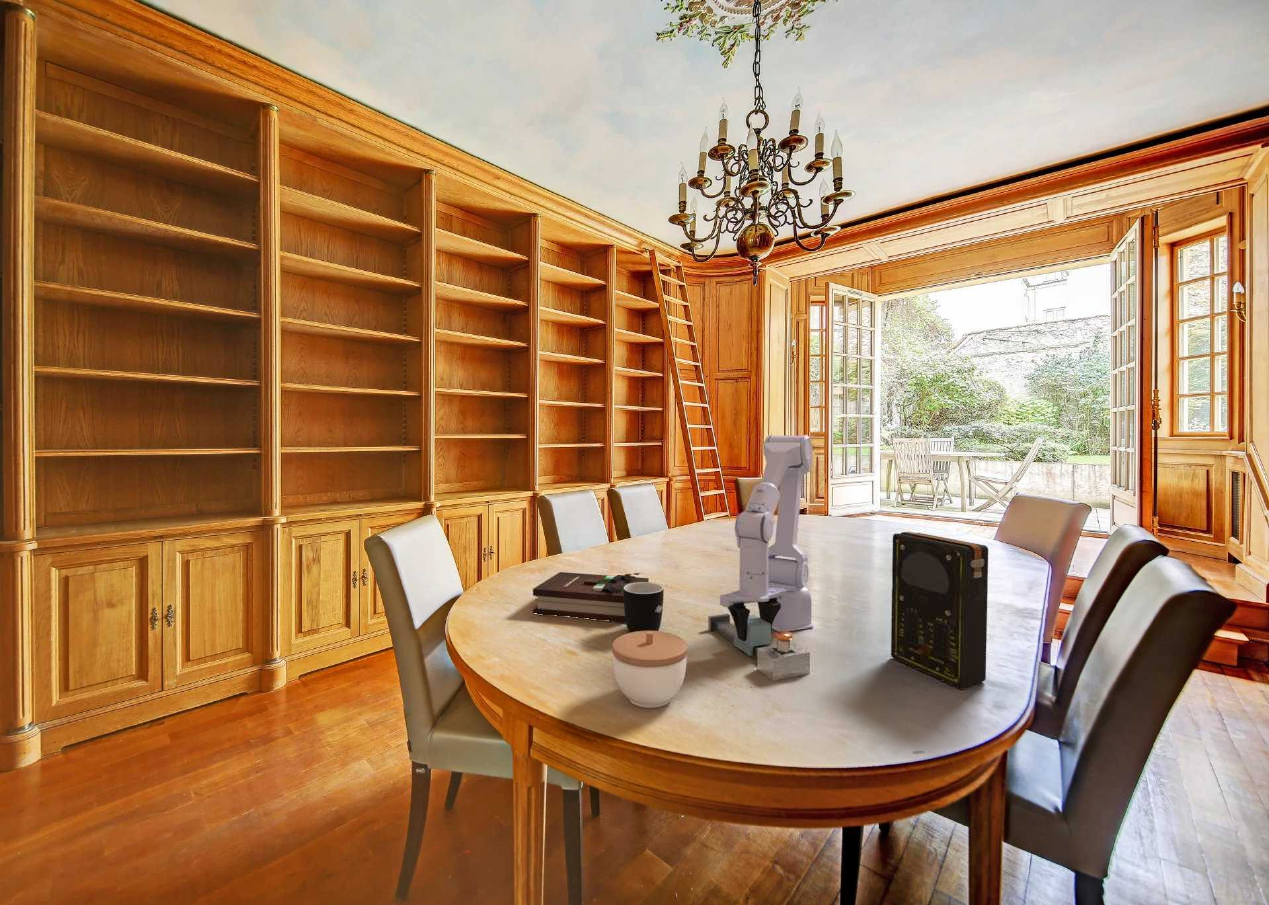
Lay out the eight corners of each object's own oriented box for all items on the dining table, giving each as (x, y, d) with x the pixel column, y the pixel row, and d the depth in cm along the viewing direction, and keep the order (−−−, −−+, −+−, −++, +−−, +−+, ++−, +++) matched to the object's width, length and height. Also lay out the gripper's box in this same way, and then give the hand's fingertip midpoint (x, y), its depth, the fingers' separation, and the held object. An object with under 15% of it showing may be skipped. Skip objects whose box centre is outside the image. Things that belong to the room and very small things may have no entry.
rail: (727, 626, 123) (727, 613, 123) (787, 665, 102) (787, 649, 102) (708, 629, 121) (708, 616, 121) (765, 669, 100) (765, 653, 100)
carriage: (753, 641, 113) (753, 614, 113) (770, 652, 107) (770, 623, 107) (733, 644, 111) (734, 617, 111) (750, 656, 105) (750, 627, 105)
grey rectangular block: (792, 662, 103) (792, 642, 103) (809, 673, 99) (809, 652, 98) (757, 669, 100) (757, 648, 100) (773, 680, 96) (773, 658, 96)
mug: (659, 641, 114) (659, 594, 114) (618, 638, 116) (618, 592, 116) (668, 622, 126) (668, 579, 125) (631, 619, 128) (631, 577, 127)
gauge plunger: (785, 656, 101) (785, 629, 101) (795, 662, 98) (796, 635, 98) (771, 658, 100) (771, 631, 100) (781, 665, 97) (781, 638, 97)
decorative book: (553, 567, 149) (658, 574, 142) (553, 594, 150) (658, 602, 142) (521, 586, 131) (640, 595, 123) (522, 616, 131) (640, 628, 123)
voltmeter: (885, 658, 105) (886, 532, 105) (916, 651, 109) (918, 529, 108) (960, 693, 91) (963, 547, 90) (993, 684, 94) (996, 543, 94)
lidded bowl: (611, 681, 96) (610, 620, 95) (680, 679, 96) (681, 618, 96) (613, 718, 83) (613, 648, 83) (693, 715, 84) (693, 646, 84)
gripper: (733, 579, 102) (732, 649, 102) (796, 572, 107) (795, 639, 107) (714, 570, 108) (714, 636, 109) (774, 564, 114) (774, 627, 114)
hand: (753, 637), depth 109 cm, fingers closed on carriage, 5 cm apart
